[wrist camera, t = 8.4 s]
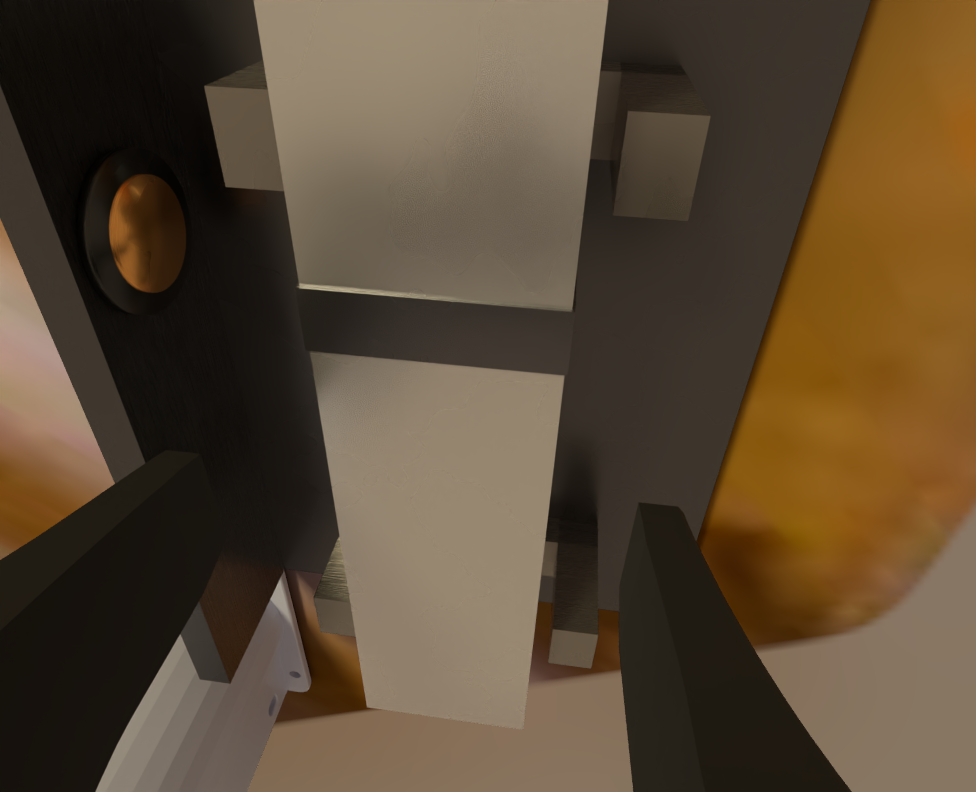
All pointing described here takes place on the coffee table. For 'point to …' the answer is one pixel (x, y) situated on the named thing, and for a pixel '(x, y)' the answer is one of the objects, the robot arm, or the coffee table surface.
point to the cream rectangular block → (438, 312)
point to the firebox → (273, 277)
